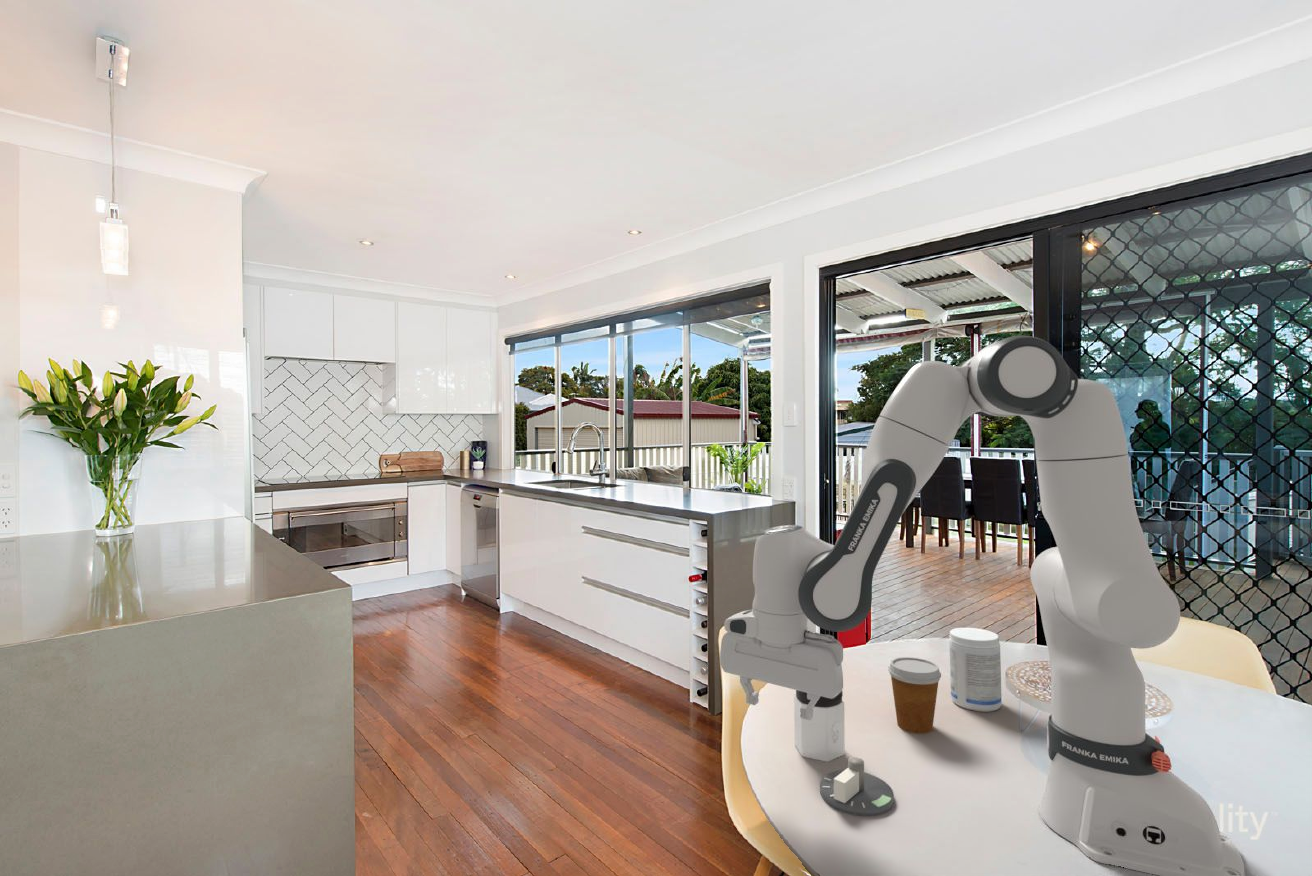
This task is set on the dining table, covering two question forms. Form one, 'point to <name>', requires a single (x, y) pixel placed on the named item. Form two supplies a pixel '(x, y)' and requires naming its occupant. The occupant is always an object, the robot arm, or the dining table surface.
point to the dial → (860, 796)
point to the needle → (849, 780)
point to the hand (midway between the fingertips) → (778, 710)
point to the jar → (820, 728)
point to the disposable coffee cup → (914, 692)
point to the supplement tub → (975, 669)
